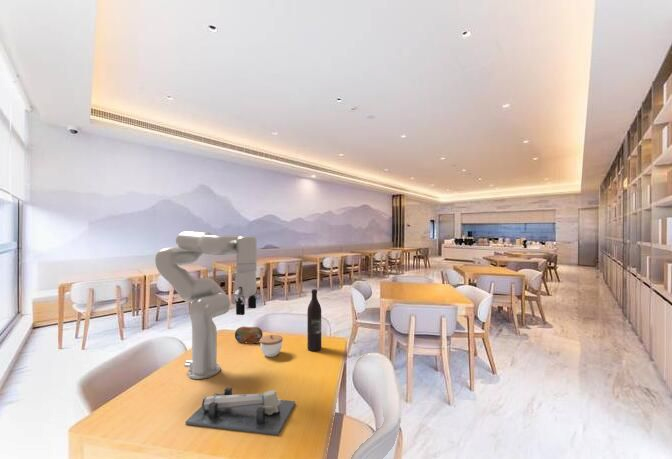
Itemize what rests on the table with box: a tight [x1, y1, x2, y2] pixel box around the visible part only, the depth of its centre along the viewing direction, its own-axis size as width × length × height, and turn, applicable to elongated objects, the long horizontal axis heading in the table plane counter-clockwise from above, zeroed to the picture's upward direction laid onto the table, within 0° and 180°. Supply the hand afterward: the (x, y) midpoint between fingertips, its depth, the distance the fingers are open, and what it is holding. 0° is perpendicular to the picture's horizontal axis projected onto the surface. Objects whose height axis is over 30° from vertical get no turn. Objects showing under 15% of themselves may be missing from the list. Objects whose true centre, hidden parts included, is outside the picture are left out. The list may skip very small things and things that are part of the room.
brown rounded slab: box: [234, 326, 264, 344], centre depth 159 cm, size 15×3×8 cm, turn 81°
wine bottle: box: [306, 288, 322, 352], centre depth 150 cm, size 7×7×30 cm
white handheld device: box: [201, 390, 282, 415], centre depth 96 cm, size 5×7×25 cm
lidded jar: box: [259, 334, 283, 358], centre depth 143 cm, size 11×11×9 cm
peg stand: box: [185, 387, 296, 437], centre depth 96 cm, size 30×16×5 cm, turn 80°
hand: (246, 311), depth 116 cm, fingers open, 9 cm apart
